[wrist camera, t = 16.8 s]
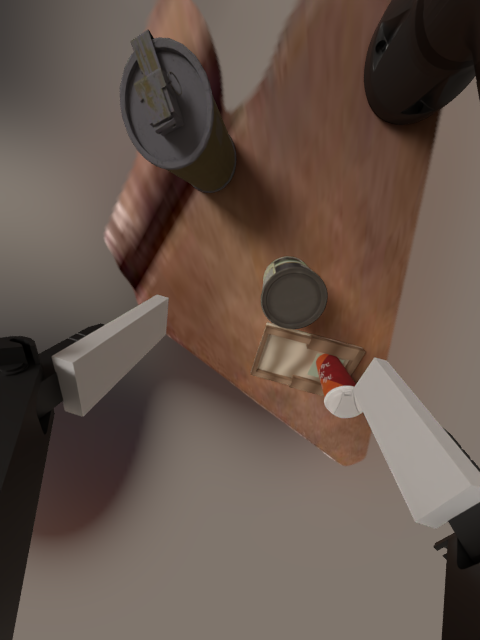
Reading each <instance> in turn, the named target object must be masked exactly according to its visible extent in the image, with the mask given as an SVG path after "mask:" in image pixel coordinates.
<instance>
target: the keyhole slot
mask: <svg viewBox="0 0 480 640" xmlns="http://www.w3.org/2000/svg"><path fill="white" fill-rule="evenodd" d="M317 353H319V354H329V355H333V356H336V357H338V359H341V360H345V361H344V363H343V366H344V367H345V369H346V370H347V372H348V373H349V375H350V376H351V375H352V373H353V372H354V370H355V368H356V367H357V365H358V364H359V362H360V360H361V359H362V357H363V356H364V354H365V350H364V349H363V348H362V347H359V346H355V345H351V344H347V343H344V342H340V341H336V340H332V339H329V338H325V337H321V336H317V335H314V334H310V333H306V332H303V331H299V330H295V329H286V328H282V327H279V326H277V325H275V324H273V323H269V322H267V324H266V327H265V330H264V333H263V336H262V339H261V342H260V345H259V348H258V351H257V354H256V357H255V360H254V363H253V366H252V369H251V375H253V376H256V377H260V378H264V379H267V380H271V381H275V382H279V383H282V384H286V385H289V387H291V388H295V389H299V390H302V391H306V392H310V393H313V394H317V395H321V396H324V394H323V390H322V386H321V382H320V378H319V377H315V376H311V375H308V372H309V370H310V367H311V365H312V363H313V361H314V359H315V357H316V355H317Z"/></svg>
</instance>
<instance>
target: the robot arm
mask: <svg viewBox="0 0 480 640" xmlns="http://www.w3.org/2000/svg"><path fill="white" fill-rule="evenodd" d="M475 76H476V80H477V88H478V94H479V99H480V0H392V1H391V2H390V4H389V6H388V7H387V9H386V11H385V13H384V15H383V17H382V18H381V20H380V22H379V24H378V26H377V28H376V30H375V32H374V34H373V37H372V39H371V42H370V45H369V48H368V52H367V56H366V61H365V69H364V85H365V92H366V96H367V99H368V102H369V104H370V106H371V108H372V109H373V111H374V112H375V113H376V114H377V115H378V116H379V117H380V118H381V119H383V120H385V121H387V122H389V123H392V124H399V125H404V124H411V123H415V122H418V121H421V120H423V119H425V118H427V117H429V116H431V115H432V114H434V113H435V112H437V111H438V110H440V109H441V108H442V107H444V106H445V105H447V104H448V103H449V102H450V101H452V100H453V99H454V98H455V97H456V96H458V94H460V93H461V92H462V91H463V90H464V89H465V88H466V86H467V85H468V84H469V83H470V82H471V81H472V79H473V78H474V77H475ZM168 300H169V298H167V297H163V296H160V295H156V296H154V297H152V298H151V299H149V300H147V301H145V302H144V303H142V304H140V305H139V306H137V307H135V308H133V309H132V310H130V311H128V312H127V313H125V314H123V315H121V316H120V317H118V318H116V319H115V320H113V321H111V322H110V323H108V324H106V325H104V324H98V325H94V326H91V327H88V328H86V329H84V330H82V331H80V332H78V334H75V335H73V336H71V337H70V338H69V339H66V340H64V341H62V342H60V343H58V344H56V345H54V346H53V347H51V348H49V349H47V350H45V351H43V352H42V353H40V354H38V352H37V348H36V344H35V341H34V340H32V339H31V338H28V337H23V336H10V337H3V338H0V640H12V638H13V633H14V627H15V622H16V617H17V612H18V606H19V601H20V596H21V590H22V585H23V579H24V574H25V569H26V564H27V558H28V553H29V548H30V542H31V537H32V532H33V526H34V521H35V516H36V510H37V505H38V499H39V494H40V489H41V484H42V478H43V473H44V468H45V462H46V457H47V452H48V446H49V441H50V436H51V430H52V425H53V420H54V414H55V413H54V407H56V406H57V405H58V404H59V403H60V402H62V401H63V405H64V409H65V411H67V412H70V413H73V414H76V415H79V416H82V417H83V416H84V415H85V414H86V413H87V412H88V411H89V410H90V409H91V408H92V407H93V406H94V405H95V404H96V403H97V402H98V401H99V400H100V399H101V398H102V397H103V396H104V395H105V394H106V393H107V392H108V391H109V390H110V389H111V388H112V387H113V386H114V385H115V384H116V383H117V382H119V381H120V379H121V378H123V377H124V376H125V375H126V373H128V372H129V371H130V369H132V368H133V367H134V366H135V365H136V363H138V362H139V361H140V360H141V359H142V358H143V357H144V356H145V354H147V353H148V352H149V351H150V350H151V349H152V348H153V347H154V346H155V345H156V344H157V343H158V342H159V341H160V340H161V339H162V338H163V337H164V336H165V335H166V326H167V313H168ZM353 392H354V394H355V396H356V398H357V400H358V402H359V404H360V407H361V409H362V411H363V413H364V415H365V417H366V419H367V421H368V423H369V426H370V428H371V430H372V432H373V434H374V436H375V438H376V440H377V442H378V445H379V446H380V449H381V451H382V453H383V455H384V457H385V459H386V461H387V464H388V465H389V468H390V470H391V472H392V474H393V476H394V478H395V481H396V482H397V485H398V487H399V489H400V491H401V493H402V495H403V497H404V499H405V501H406V504H407V506H408V508H409V510H410V512H411V514H412V516H413V519H414V520H415V522H416V523H419V524H423V525H426V526H429V527H432V528H435V529H436V528H438V527H440V526H441V525H443V524H445V523H447V522H449V523H450V525H451V527H452V529H453V530H454V532H455V533H453V534H451V535H450V536H448V537H446V538H444V539H442V540H440V541H438V542H436V543H435V545H434V548H435V549H436V550H437V551H438V550H440V549H441V548H443V547H445V548H447V553H446V554H444V555H443V557H444V558H445V559H446V560H447V563H446V579H445V595H444V611H443V626H442V640H480V469H479V467H478V466H477V465H476V464H475V462H474V461H473V460H470V457H469V455H468V454H467V453H466V452H465V451H464V450H463V449H461V446H460V445H459V444H458V442H457V441H456V440H455V439H454V438H453V436H452V435H451V434H450V433H449V432H447V431H446V430H445V429H444V428H443V427H442V426H441V425H440V424H439V423H438V422H437V420H436V419H435V418H434V417H433V415H432V414H431V413H430V412H429V411H428V409H427V408H426V407H425V406H424V405H423V404H422V402H421V401H420V400H419V399H418V398H417V396H416V395H415V394H414V393H413V391H412V390H411V389H410V388H409V387H408V385H407V384H406V383H405V382H404V381H403V379H402V378H401V377H400V376H399V375H398V374H397V372H396V371H395V370H394V369H393V367H392V366H391V365H390V364H389V363H388V361H386V360H382V359H379V358H374V359H373V361H372V362H371V363H370V365H369V366H368V368H367V369H366V371H365V372H364V374H363V375H362V377H361V378H360V379H359V381H358V382H357V384H356V385H355V387H354V388H353Z"/></svg>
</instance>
